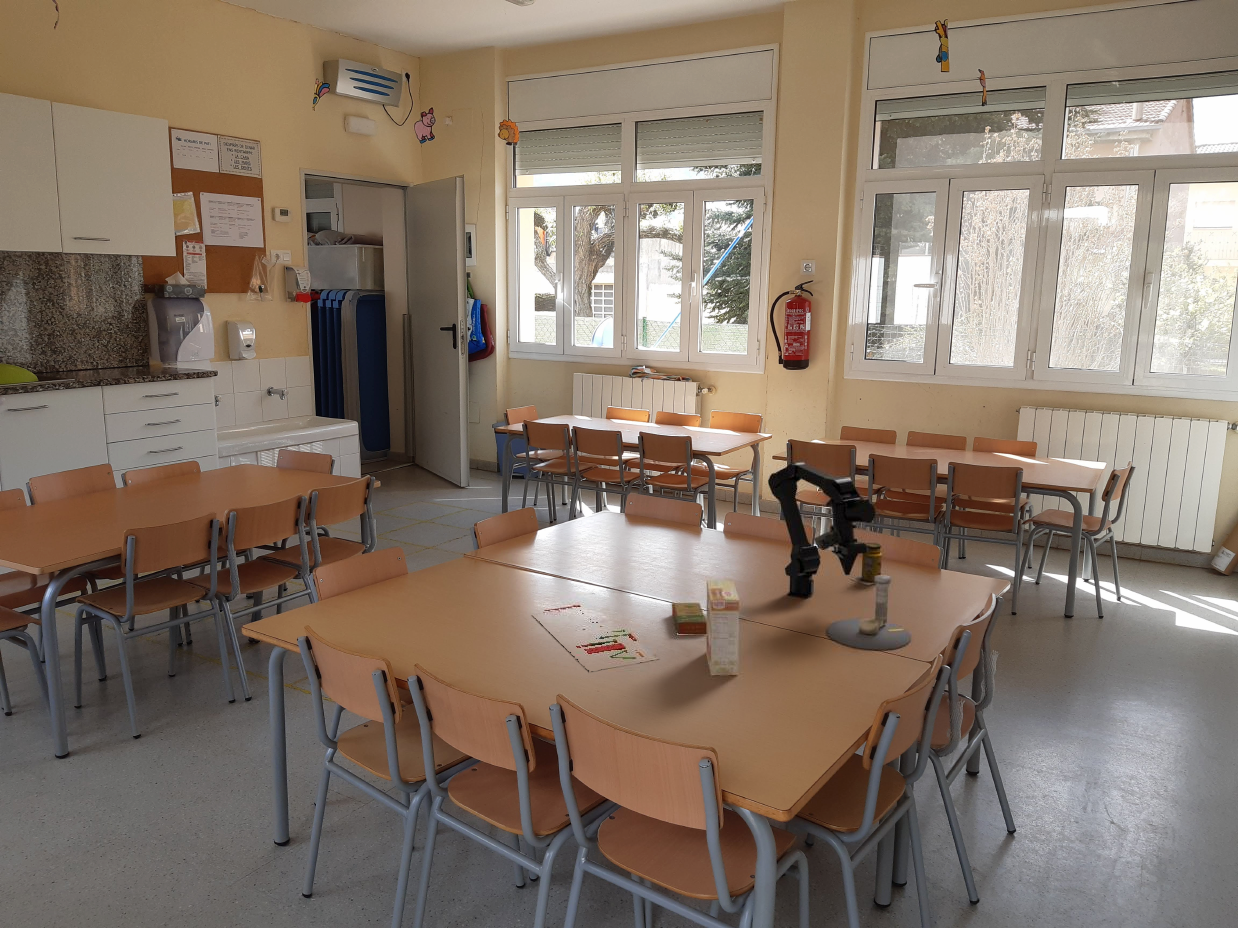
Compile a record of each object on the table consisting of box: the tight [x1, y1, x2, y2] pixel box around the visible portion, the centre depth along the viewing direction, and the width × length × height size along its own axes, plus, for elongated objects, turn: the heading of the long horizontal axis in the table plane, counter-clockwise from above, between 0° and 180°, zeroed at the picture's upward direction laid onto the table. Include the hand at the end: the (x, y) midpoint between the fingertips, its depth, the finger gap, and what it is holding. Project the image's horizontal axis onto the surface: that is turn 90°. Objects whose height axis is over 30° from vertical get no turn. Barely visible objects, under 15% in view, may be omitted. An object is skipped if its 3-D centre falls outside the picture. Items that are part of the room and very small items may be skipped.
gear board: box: [543, 604, 644, 659], centre depth 243 cm, size 45×2×19 cm
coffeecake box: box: [705, 579, 740, 676], centre depth 222 cm, size 15×7×20 cm, turn 178°
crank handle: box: [859, 574, 892, 634], centre depth 244 cm, size 13×5×13 cm, turn 140°
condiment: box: [852, 542, 883, 586], centre depth 289 cm, size 7×8×12 cm
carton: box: [671, 602, 707, 634], centre depth 251 cm, size 8×16×4 cm, turn 2°
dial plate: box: [826, 617, 912, 651], centre depth 242 cm, size 22×22×1 cm
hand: (847, 574), depth 258 cm, fingers closed
